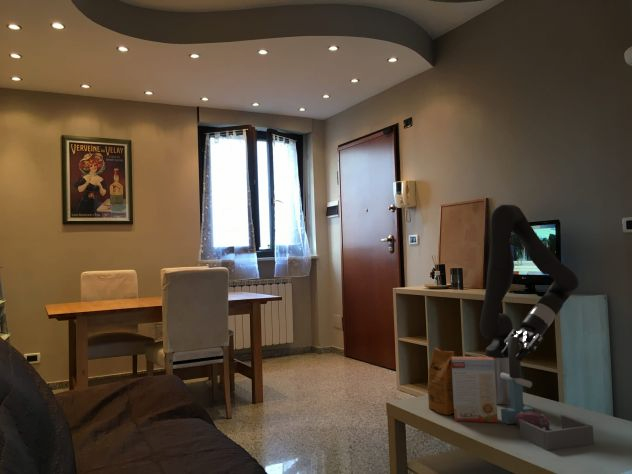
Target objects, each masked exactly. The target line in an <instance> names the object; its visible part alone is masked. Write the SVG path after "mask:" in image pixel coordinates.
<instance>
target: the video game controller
mask: <svg viewBox="0 0 632 474" xmlns="http://www.w3.org/2000/svg"><path fill="white" fill-rule="evenodd" d="M520 420H523V421H526V422H528V423H530V424H532V423H533V425H535V426H537V427H539V428H541V429H543V428H544V430H549V429H550V427H551V424H550V421H549V418H548V417H547V416H546V415H545V414H544V413H538V412H535V411H533V412H524V413H523V412H520V413H518V414H517V416H516V423H515V424H516V425H517V427H520Z"/></svg>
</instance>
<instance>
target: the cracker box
mask: <svg viewBox="0 0 632 474" xmlns="http://www.w3.org/2000/svg"><path fill="white" fill-rule="evenodd" d="M452 380H453V401H454V413H453V415H454V422H455V421H456V422H477V423H479V422H480V423H495V424H496V423H499V422H498V420H499V419H498V418H499V417H498V404H497V399H496V381H495V364H494V358H493V357H486V356H455V357H452Z"/></svg>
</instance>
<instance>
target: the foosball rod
mask: <svg viewBox="0 0 632 474" xmlns="http://www.w3.org/2000/svg"><path fill="white" fill-rule="evenodd" d="M520 347H521V345H520V344H519V337H514V336H511V337H508V355H509V374H506V373H503V372H502V373H501V374H500V377H501V378H503V379H505V380H508V381H509V388H510V404H509V407H508V408H501V409H500V415H501V416H500V417H501V422H502V423H505V424H506V425H511V424H517V423H516V416H517V414H518V413H520V412H523V413H524V412H534V408H532V407H530V406H527V405H525V406H524V393H523V387H526V388H528V389H529V388H532V387H533V382H532V381H530V380H527V379H524V378H522V369H521V368H522V365H521V361H518V360H517V359H516V357H515V356H516V355H517V354H518V352H519V351H520V350H521V348H520Z"/></svg>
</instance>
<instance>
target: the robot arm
mask: <svg viewBox="0 0 632 474" xmlns="http://www.w3.org/2000/svg"><path fill="white" fill-rule="evenodd" d="M529 222H530V221H528V219H527V217H526V216H525V214H524V213H523V211H522V209H521V208H520V207H518V206H517V205H515V204H500V205H499V204H498V205H497V206H496V207H495V208H494V209H493V210H492V212H491V216H490V247H489V255H488V265H487V274H486V285H485V291H484V292H485V293H484V301H483V306H482V308H481V315H480V319H479V320H480V321H479V330H480V333H481V335H482V336H483V337H484V338H485V339H488V340H489V339H491V340H492V341H491V343H490V344H489V345H488V346H487V347H486V348H485V357H493V358H494V364H495V381H496V399H497V405H510V388H509V381H508V380H505V379H503V378H501V377H500V374H501V373H502V372H503V373H506V374H509V355H508V337H511V336H514V337H519V344H520V346H521V345H522V348H520V351H519V352H518V354H517V355H516V356H515V357H516V359H517V360H518V361H520V362H521V361H523V359H524V358H525V357H526V356H527V354H530V353H533V354H534V353H535V352H536V351H537V349H538V348H539V347H540V346H541V345H542V343H543V341H544V340H545V338H543V336H544V334H545V333H546V331H547V330H548V329H549V327H550V325H552V323H553V321H554V319H555V318H556V316H557V315H558V314H559V312H560V311H561V310H562V308H563V305H564V304H565V302H566V301H567V300H568V299H569V297H570V296H572V294H573V293H574V292H575V291H576V290H577V289H578V287H579V284H580V283H579V282H580V281H579V278H578V276H577V275H576V274H575V273H574V271H572V269H570V268H569V267H567V265H565V264H564V263H562V262H560V260H559V259H558V258H557V257H556V256H555V255H554V253H553V252H552V251H551V250H550V248H549V247H547V245H546V244H545V243H544V242H543V241H542V240H541V238H540V237H539V235H538V234H537V233H536V230H535V229H534V228H533V227H532V225H531V223H529ZM512 233H513V234H514V235H515V236H517V238H518V239H519V241H520V242H521V244H522V245H523V248H524V250H525V252H526V254H527V257H528V258H529V259H530V261H531V262H532V263H533V264H534V265H535V267H536V268H537V269H538V270H539V271H540V272H541V273H542V275H545V276H547V275H548V276H549V277H550V278H551V279H553V282H552V283H551V284H550V286H549V287H548V289H547V291H546V292H545V293H544V294H543V295H542V296H541V297H540V299H539V300H538V302H536V304H535V305H533V307H532V309H531V310H530V311H529V312H528V313H527V315H526V316H525V317H524V318H523V320H522V321H521V323H520V325H521V328H520V329H519V330H516V329H514V327H513V322H512V319H511V318H510V317H509V315H508V314H506V313H502V312H501V313H500V309H501V304H502V302H503V300H504V298H505V297H506V295H507V293H508V291H509V290H510V288H511V286H512V283H513V279H514V270H515V262H514V256H513V252H512V250H511V249H512V248H511V236H512Z"/></svg>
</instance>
